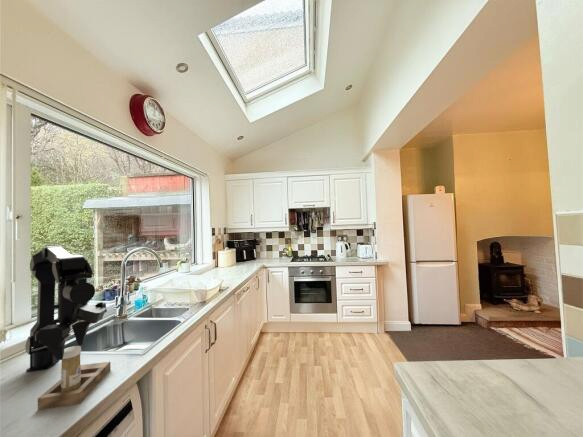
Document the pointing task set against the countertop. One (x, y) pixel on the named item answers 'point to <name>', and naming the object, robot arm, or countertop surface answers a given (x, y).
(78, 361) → the sprinkles bottle
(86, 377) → the socket block
